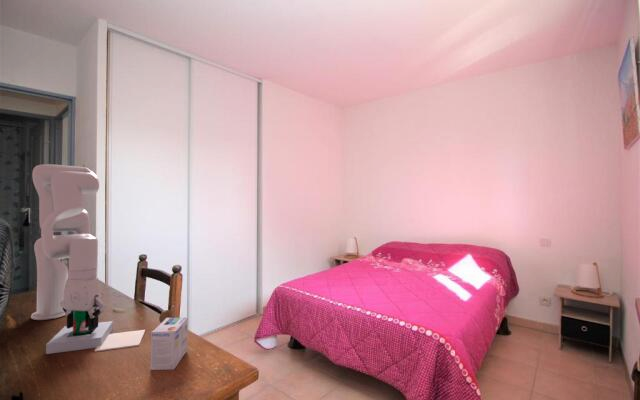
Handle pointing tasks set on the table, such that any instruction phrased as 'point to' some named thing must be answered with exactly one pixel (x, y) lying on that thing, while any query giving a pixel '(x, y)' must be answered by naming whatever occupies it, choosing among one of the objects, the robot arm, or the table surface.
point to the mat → (121, 340)
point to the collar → (78, 339)
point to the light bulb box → (168, 343)
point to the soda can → (80, 323)
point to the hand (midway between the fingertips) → (82, 327)
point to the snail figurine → (167, 314)
